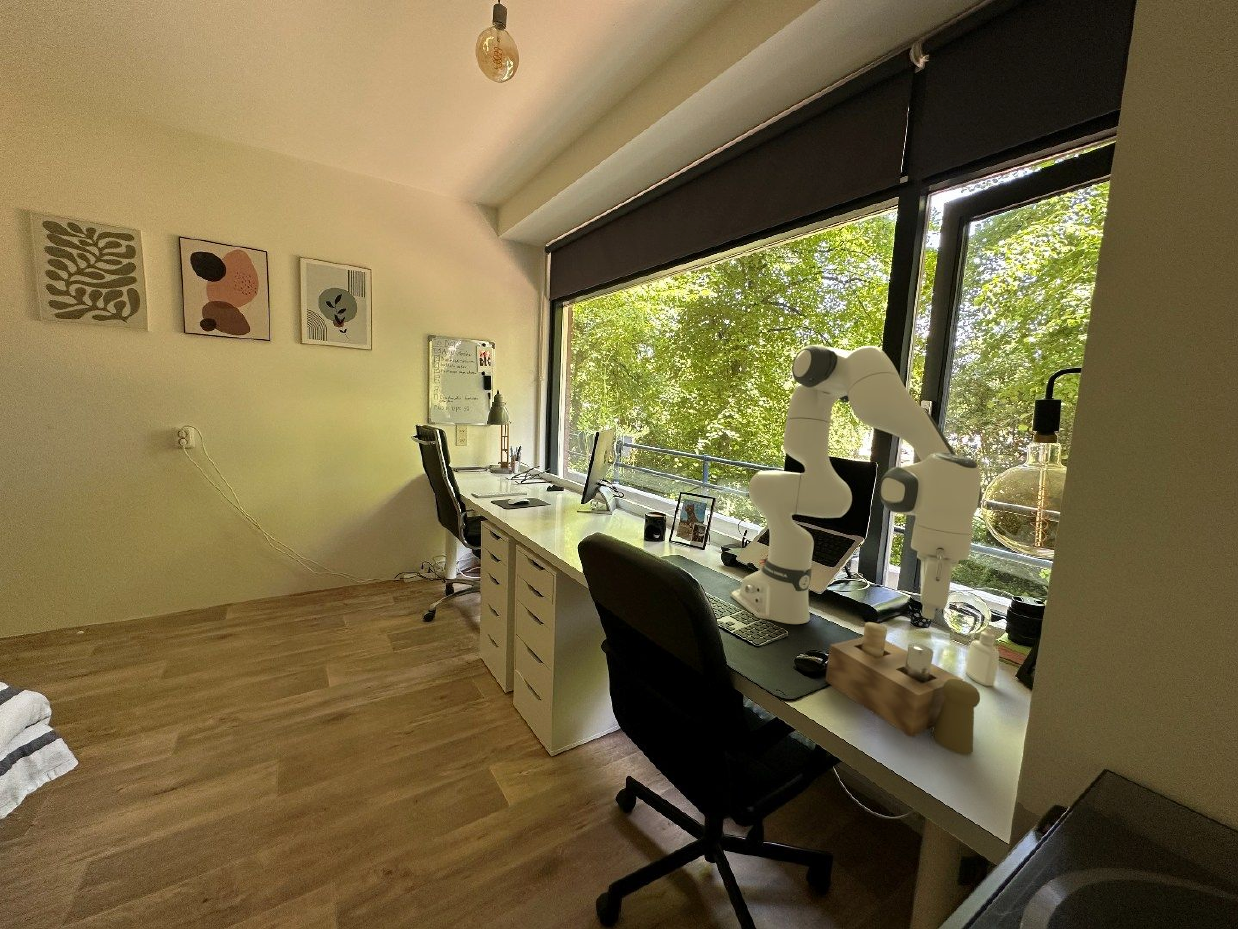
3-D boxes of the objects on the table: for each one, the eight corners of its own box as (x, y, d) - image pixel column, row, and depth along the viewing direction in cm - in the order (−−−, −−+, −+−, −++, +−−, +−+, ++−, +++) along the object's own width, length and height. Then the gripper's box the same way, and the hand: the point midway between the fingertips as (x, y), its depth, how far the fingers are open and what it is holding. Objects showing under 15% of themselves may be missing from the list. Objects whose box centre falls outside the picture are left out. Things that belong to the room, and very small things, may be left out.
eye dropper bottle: (970, 682, 104) (980, 630, 102) (963, 670, 109) (973, 620, 108) (995, 689, 102) (1005, 636, 101) (987, 676, 107) (997, 625, 106)
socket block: (825, 681, 100) (830, 644, 99) (868, 668, 106) (873, 634, 105) (911, 737, 84) (918, 695, 83) (955, 718, 91) (962, 679, 90)
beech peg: (855, 659, 99) (860, 623, 98) (867, 656, 101) (873, 621, 100) (873, 669, 96) (879, 633, 95) (885, 666, 98) (891, 629, 97)
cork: (974, 743, 84) (986, 685, 83) (970, 760, 79) (983, 699, 78) (934, 725, 88) (944, 669, 86) (928, 741, 83) (939, 682, 82)
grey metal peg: (897, 683, 91) (903, 645, 90) (909, 679, 93) (916, 641, 92) (918, 695, 88) (925, 655, 87) (931, 691, 90) (938, 652, 89)
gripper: (965, 560, 76) (950, 642, 78) (957, 537, 94) (945, 605, 95) (919, 550, 80) (906, 630, 81) (920, 530, 97) (909, 596, 99)
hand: (927, 616), depth 88 cm, fingers closed
